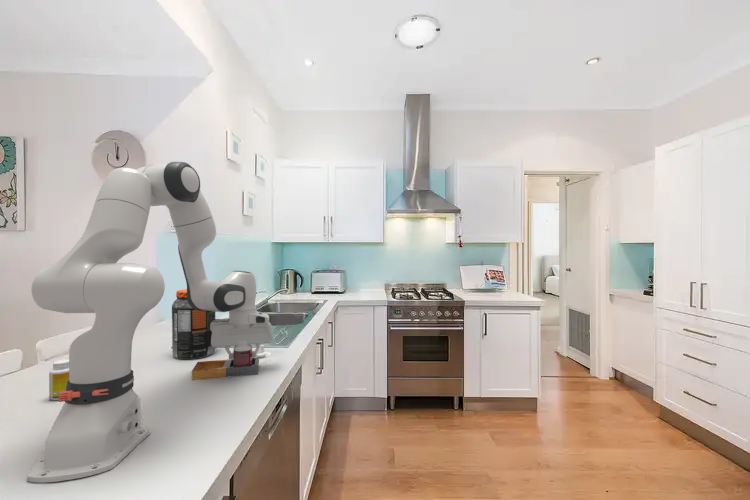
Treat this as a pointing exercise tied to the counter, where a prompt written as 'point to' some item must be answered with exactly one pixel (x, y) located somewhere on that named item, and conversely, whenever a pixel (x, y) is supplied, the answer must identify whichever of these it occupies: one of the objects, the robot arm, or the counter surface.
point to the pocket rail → (223, 369)
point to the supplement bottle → (58, 378)
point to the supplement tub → (190, 329)
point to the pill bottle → (242, 354)
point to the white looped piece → (262, 352)
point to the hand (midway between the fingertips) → (242, 357)
